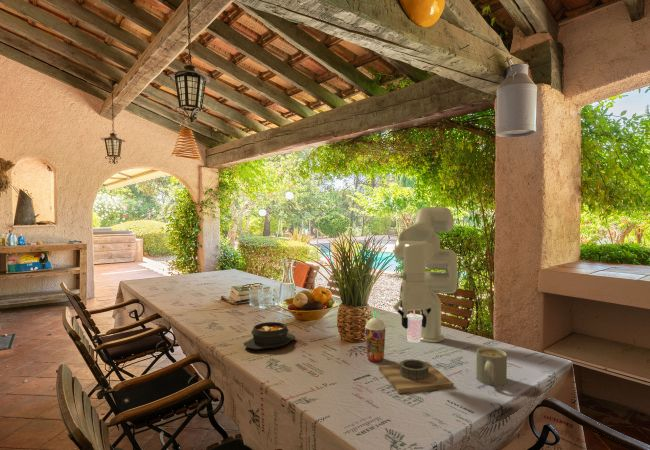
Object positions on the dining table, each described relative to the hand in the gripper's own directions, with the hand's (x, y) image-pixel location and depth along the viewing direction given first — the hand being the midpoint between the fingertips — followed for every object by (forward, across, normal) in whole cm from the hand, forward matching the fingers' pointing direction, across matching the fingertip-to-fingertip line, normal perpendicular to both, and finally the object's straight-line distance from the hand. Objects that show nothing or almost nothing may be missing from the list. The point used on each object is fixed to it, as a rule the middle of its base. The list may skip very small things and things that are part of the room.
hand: (414, 326), depth 143 cm
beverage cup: (+5, 0, 0) cm, 5 cm away
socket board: (+19, 0, 0) cm, 19 cm away
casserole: (+19, -49, +48) cm, 71 cm away
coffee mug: (+19, +25, -8) cm, 32 cm away
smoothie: (+19, -8, +20) cm, 29 cm away
